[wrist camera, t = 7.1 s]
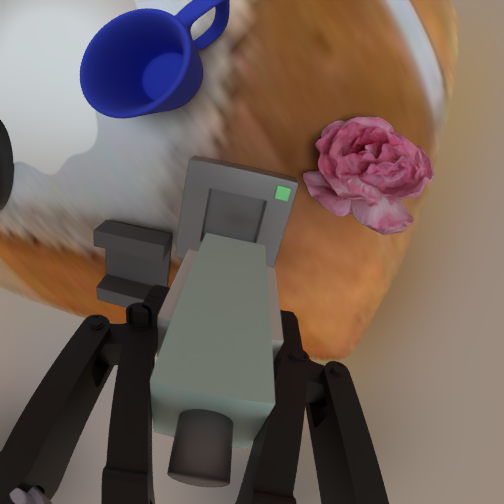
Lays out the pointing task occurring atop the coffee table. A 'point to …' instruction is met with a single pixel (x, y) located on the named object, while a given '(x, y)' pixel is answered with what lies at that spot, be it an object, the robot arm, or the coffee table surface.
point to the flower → (368, 173)
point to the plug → (215, 362)
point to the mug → (148, 60)
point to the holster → (132, 262)
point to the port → (234, 205)
